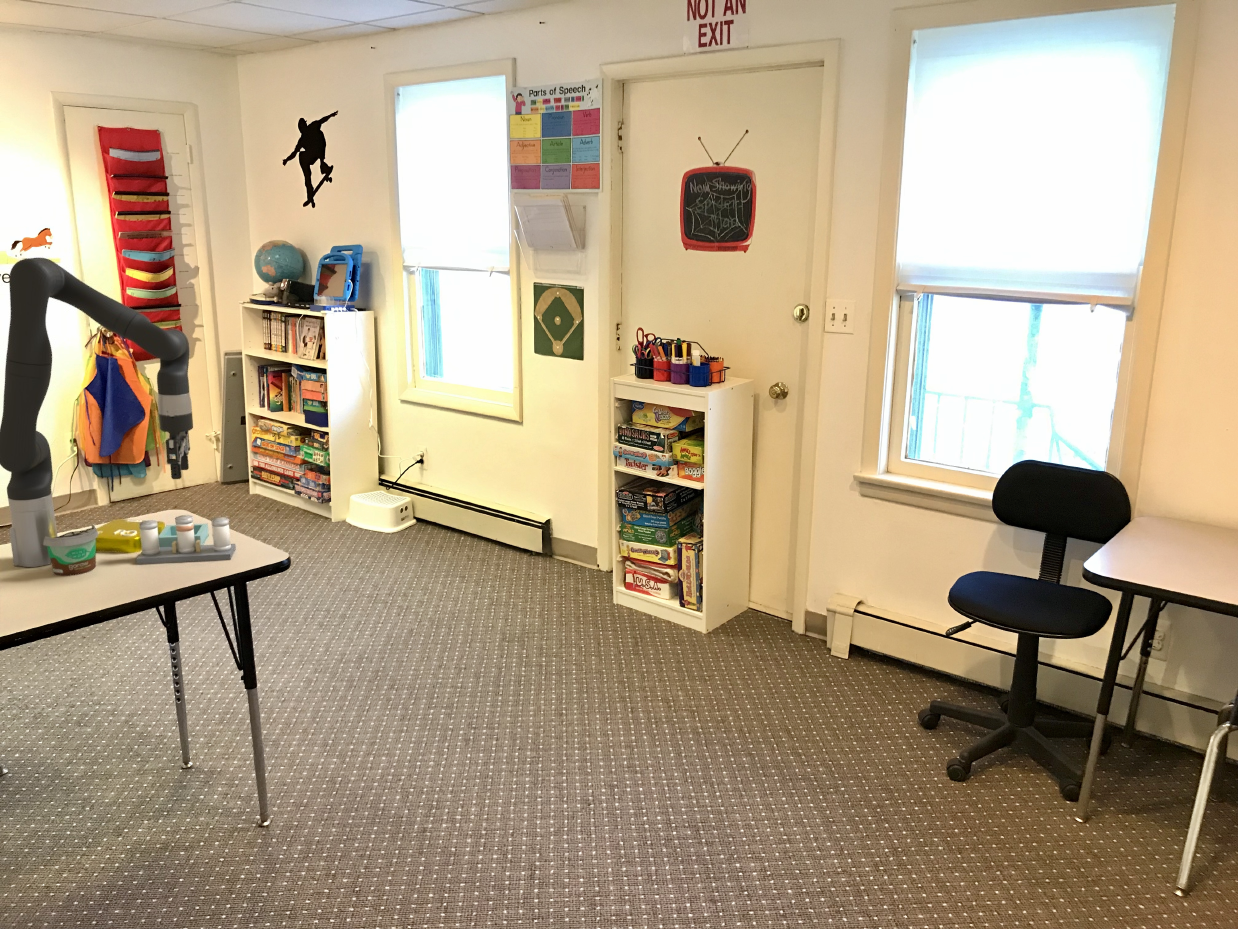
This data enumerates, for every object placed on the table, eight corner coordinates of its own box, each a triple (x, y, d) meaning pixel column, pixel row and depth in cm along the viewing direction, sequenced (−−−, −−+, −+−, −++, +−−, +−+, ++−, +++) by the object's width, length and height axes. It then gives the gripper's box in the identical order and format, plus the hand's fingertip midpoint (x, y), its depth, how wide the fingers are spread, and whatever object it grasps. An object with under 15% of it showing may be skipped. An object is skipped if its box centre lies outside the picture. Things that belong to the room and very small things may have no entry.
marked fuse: (176, 554, 238) (173, 520, 235) (180, 548, 242) (177, 515, 239) (194, 553, 239) (190, 519, 236) (197, 547, 242) (194, 514, 240)
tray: (158, 550, 244) (157, 537, 243) (167, 537, 254) (166, 525, 253) (201, 548, 246) (200, 535, 245) (208, 535, 256) (207, 523, 255)
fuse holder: (137, 564, 234) (133, 528, 232) (145, 553, 242) (141, 518, 239) (230, 559, 239) (227, 524, 237) (235, 549, 247) (233, 514, 244)
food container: (60, 581, 222) (55, 542, 220) (47, 576, 225) (42, 536, 223) (112, 567, 232) (107, 528, 230) (98, 561, 235) (94, 523, 233)
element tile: (169, 536, 256) (167, 519, 255) (136, 555, 242) (134, 537, 240) (117, 533, 258) (115, 516, 256) (82, 551, 243) (79, 534, 242)
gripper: (165, 405, 237) (170, 467, 241) (151, 417, 223) (157, 482, 228) (197, 405, 239) (201, 466, 243) (185, 416, 225) (190, 481, 229)
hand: (180, 474), depth 235 cm, fingers open, 8 cm apart
